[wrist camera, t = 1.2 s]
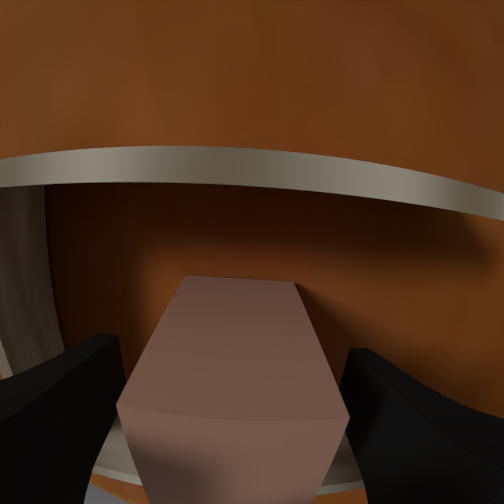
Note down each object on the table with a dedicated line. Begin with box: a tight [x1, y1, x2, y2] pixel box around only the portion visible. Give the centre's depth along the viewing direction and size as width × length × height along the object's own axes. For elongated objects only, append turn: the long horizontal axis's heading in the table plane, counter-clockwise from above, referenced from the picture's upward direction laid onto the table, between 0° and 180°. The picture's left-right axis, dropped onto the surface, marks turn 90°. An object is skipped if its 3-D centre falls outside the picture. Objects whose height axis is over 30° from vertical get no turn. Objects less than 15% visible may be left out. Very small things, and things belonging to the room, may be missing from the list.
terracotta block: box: [116, 275, 350, 504], centre depth 8 cm, size 4×4×7 cm
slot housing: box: [0, 146, 504, 495], centre depth 10 cm, size 17×13×4 cm
